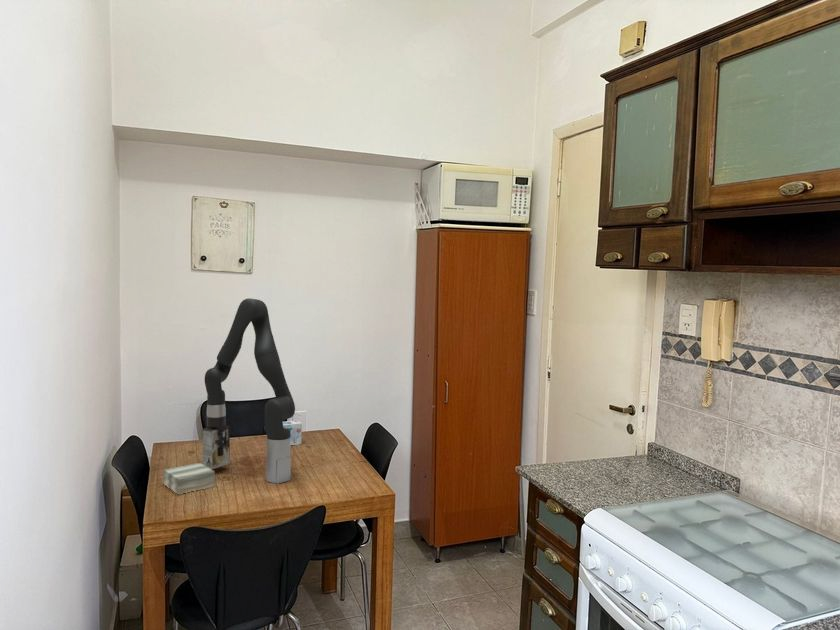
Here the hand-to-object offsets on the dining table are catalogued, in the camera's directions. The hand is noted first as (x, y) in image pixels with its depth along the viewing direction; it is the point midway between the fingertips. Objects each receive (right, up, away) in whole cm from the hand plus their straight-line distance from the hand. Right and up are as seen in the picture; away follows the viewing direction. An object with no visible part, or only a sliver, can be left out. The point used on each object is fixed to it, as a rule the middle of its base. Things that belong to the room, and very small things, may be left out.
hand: (216, 453), depth 244 cm
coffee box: (0, -5, 0) cm, 5 cm away
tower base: (-4, -8, -18) cm, 20 cm away
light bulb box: (+21, -5, +42) cm, 47 cm away
